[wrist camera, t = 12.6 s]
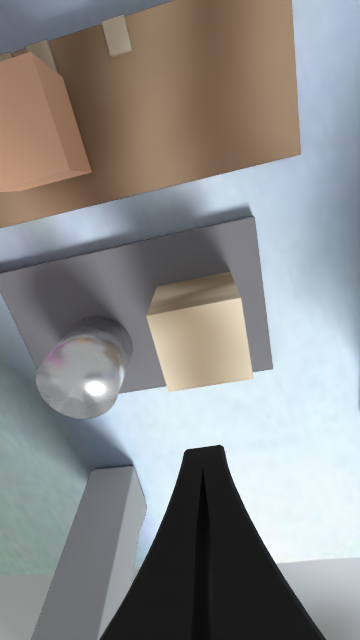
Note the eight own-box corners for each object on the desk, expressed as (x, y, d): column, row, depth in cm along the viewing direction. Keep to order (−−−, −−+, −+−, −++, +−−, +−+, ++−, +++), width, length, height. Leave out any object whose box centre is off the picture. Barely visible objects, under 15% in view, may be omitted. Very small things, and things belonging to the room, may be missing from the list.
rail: (283, -23, 13) (290, -41, 12) (294, 155, 16) (302, 153, 15) (-95, 98, 16) (-116, 92, 15) (-29, 235, 19) (-43, 238, 17)
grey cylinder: (122, 309, 19) (102, 344, 15) (140, 368, 21) (127, 412, 17) (57, 322, 20) (22, 358, 16) (80, 378, 22) (54, 423, 18)
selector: (62, 77, 14) (30, 51, 11) (91, 172, 16) (69, 170, 13) (-17, 101, 15) (-65, 82, 12) (19, 191, 16) (-16, 192, 13)
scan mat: (252, 215, 17) (254, 216, 17) (270, 364, 21) (273, 368, 21) (-2, 272, 19) (-8, 275, 19) (57, 398, 23) (54, 404, 23)
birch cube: (230, 271, 18) (240, 297, 14) (241, 337, 20) (253, 378, 16) (156, 286, 19) (146, 315, 15) (173, 349, 20) (168, 392, 16)
